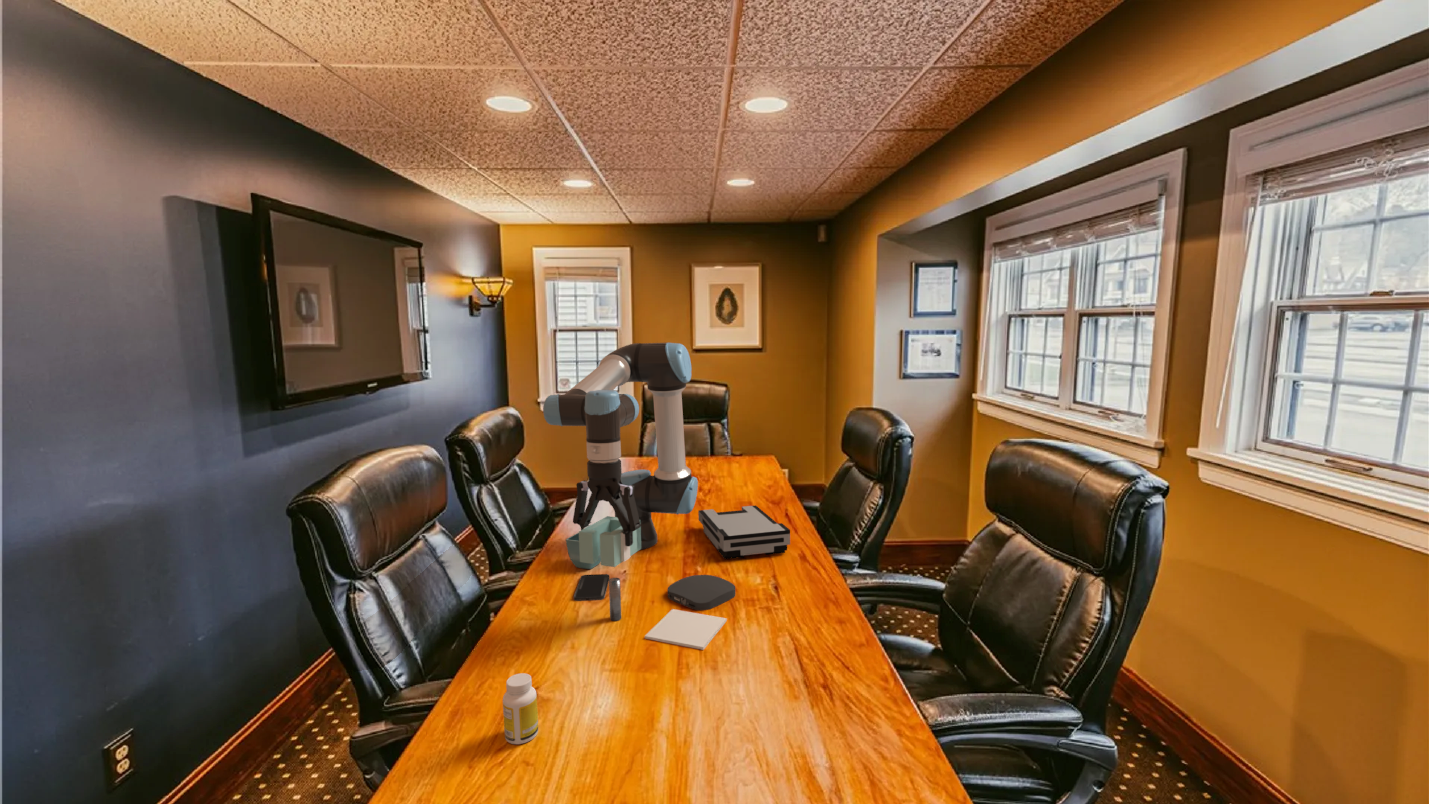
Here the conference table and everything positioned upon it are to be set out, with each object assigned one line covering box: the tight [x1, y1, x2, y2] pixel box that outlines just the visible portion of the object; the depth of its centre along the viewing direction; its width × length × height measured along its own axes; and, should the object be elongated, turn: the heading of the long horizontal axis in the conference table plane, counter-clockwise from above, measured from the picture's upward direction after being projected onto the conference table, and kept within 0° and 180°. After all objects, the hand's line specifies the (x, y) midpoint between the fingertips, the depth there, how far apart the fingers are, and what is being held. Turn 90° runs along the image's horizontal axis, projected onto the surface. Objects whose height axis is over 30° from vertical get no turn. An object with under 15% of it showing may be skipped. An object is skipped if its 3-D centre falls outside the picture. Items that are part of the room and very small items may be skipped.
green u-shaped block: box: [578, 515, 642, 568], centre depth 139 cm, size 12×9×7 cm
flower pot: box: [565, 531, 601, 570], centre depth 175 cm, size 9×9×9 cm
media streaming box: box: [667, 574, 736, 611], centre depth 155 cm, size 15×15×3 cm
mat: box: [644, 608, 728, 651], centre depth 137 cm, size 14×14×1 cm
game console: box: [698, 505, 791, 560], centre depth 195 cm, size 21×32×8 cm, turn 15°
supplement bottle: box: [502, 672, 539, 745], centre depth 101 cm, size 5×5×10 cm
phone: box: [573, 573, 610, 602], centre depth 160 cm, size 8×1×15 cm
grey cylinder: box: [608, 577, 622, 622], centre depth 142 cm, size 3×3×10 cm
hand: (607, 556), depth 138 cm, fingers closed on green u-shaped block, 9 cm apart
